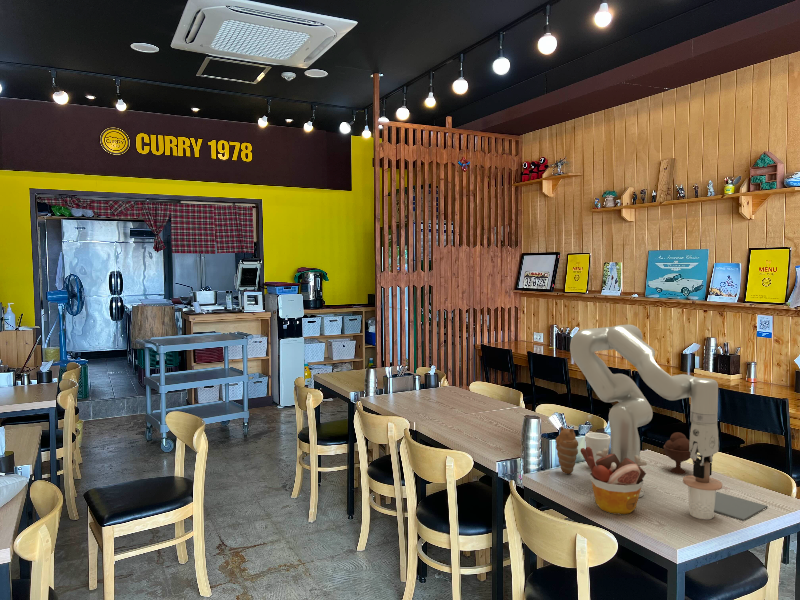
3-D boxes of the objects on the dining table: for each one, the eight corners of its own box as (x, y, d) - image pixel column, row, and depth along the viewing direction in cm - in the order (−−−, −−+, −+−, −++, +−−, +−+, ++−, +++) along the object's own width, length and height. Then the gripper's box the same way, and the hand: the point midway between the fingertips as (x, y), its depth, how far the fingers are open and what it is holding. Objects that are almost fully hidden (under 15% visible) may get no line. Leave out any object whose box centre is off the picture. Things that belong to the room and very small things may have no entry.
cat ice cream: (551, 473, 226) (552, 426, 225) (562, 469, 231) (563, 423, 230) (571, 479, 219) (572, 431, 219) (583, 474, 225) (583, 427, 224)
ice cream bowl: (656, 469, 231) (657, 431, 231) (676, 465, 236) (677, 428, 235) (679, 477, 221) (680, 438, 221) (700, 473, 226) (701, 435, 226)
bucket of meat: (637, 500, 199) (638, 441, 198) (653, 519, 182) (655, 456, 182) (576, 497, 201) (577, 439, 200) (587, 517, 184) (588, 453, 184)
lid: (712, 493, 178) (713, 470, 178) (676, 483, 187) (676, 461, 186) (728, 485, 185) (728, 463, 185) (692, 476, 193) (693, 454, 193)
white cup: (685, 516, 185) (686, 485, 185) (689, 508, 192) (690, 478, 191) (713, 522, 181) (714, 490, 180) (716, 514, 187) (717, 483, 187)
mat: (743, 521, 182) (743, 519, 182) (691, 505, 195) (691, 503, 194) (767, 507, 193) (767, 505, 193) (717, 493, 205) (717, 491, 205)
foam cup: (602, 474, 225) (602, 440, 225) (580, 468, 232) (580, 435, 232) (614, 468, 232) (614, 436, 231) (592, 463, 239) (593, 431, 238)
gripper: (703, 424, 177) (701, 484, 178) (728, 416, 187) (726, 473, 188) (678, 419, 183) (677, 477, 184) (704, 412, 193) (702, 467, 194)
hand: (702, 475), depth 186 cm, fingers closed on lid, 4 cm apart
